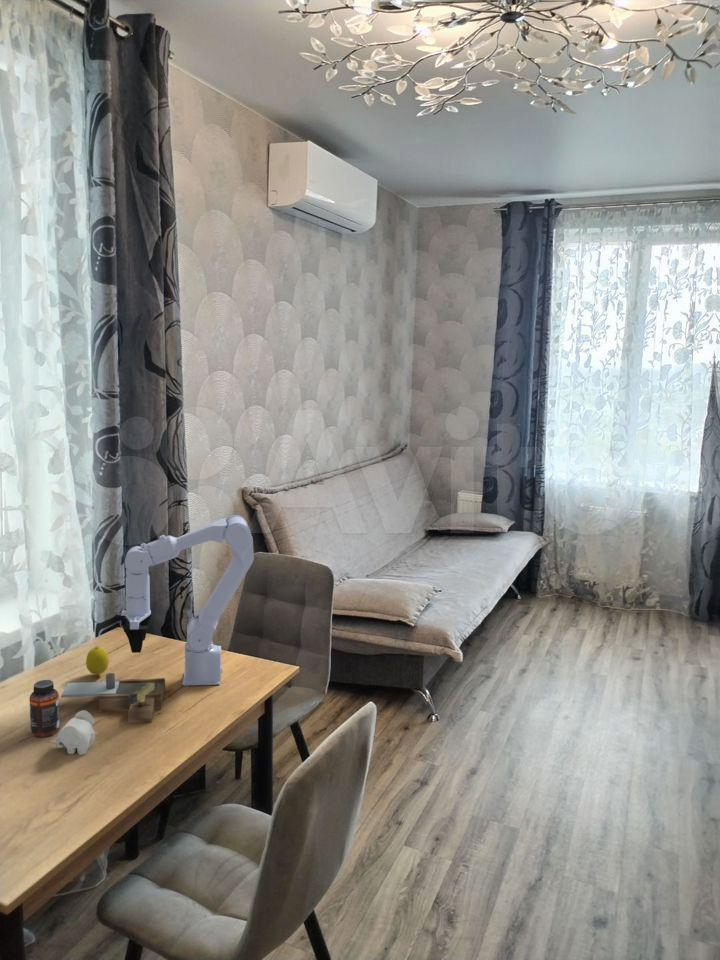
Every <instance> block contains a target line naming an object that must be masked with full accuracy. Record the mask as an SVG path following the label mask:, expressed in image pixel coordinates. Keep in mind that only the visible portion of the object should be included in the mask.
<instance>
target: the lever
mask: <svg viewBox="0 0 720 960" xmlns="http://www.w3.org/2000/svg"><path fill="white" fill-rule="evenodd" d="M153 690H154V684H153V683H148V684H146V685H145V686H143V687H142V688H140V689H139V690H137V691H136V692H134V693H133V694H131V695H129V696H128V697H127V703H129V704H134V703H136V702H137V701H138V706H144V705H145V695H147V694H148V693H150V692H151V691H153Z"/></svg>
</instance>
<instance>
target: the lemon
mask: <svg viewBox="0 0 720 960" xmlns="http://www.w3.org/2000/svg"><path fill="white" fill-rule="evenodd" d="M85 660H86V661H85V666H86V669H87V671H89V673H90V674H93V675H95V676H97V677H99V676H100V675H101V674H103V673H104V672H105V671H106V670H107V669H108V667H109V663H110V660H109V654H108V651H106V649H104V648H103V647H101V646H100V647H99V646H95V647H93V648H92V649H90V651H88V653H87V655H86V659H85Z"/></svg>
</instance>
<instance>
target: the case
mask: <svg viewBox="0 0 720 960" xmlns="http://www.w3.org/2000/svg"><path fill="white" fill-rule="evenodd" d="M117 681H119V686H118V688H117V691H116V694H113V695H100V696H99V699H98V701H99V702H98V705H99V706H98V707H99V710H98V711H99V713H106V712H107V713H108V712H128V724H142V723H143V724H145V723H146V724H147V723H152V722H153V717H154V714H155V711H161V710H162V706H163V702H164V697H165V693H166V679H165V677H163V678H130V679H115V682H117ZM148 683H153V684H154V690H153V691H151V692H150V693H148V694H147V695H145V705H144V706H138V701H137V702H136V703H134V704H129V703H127V697H128V696H129V695H131V694H133V693H134V692H136V691H137V690H139V689H140V688H142V687H143V686H145V685H146V684H148Z"/></svg>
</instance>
